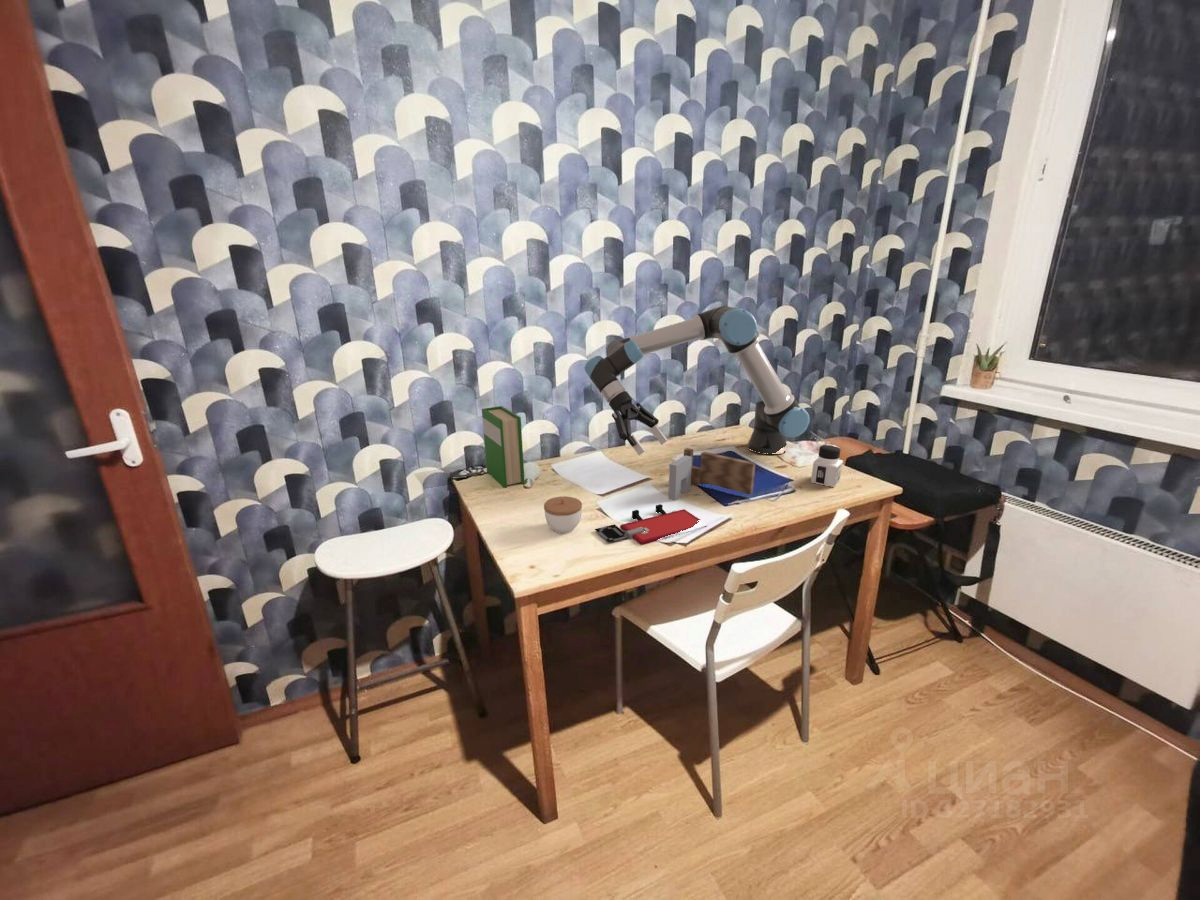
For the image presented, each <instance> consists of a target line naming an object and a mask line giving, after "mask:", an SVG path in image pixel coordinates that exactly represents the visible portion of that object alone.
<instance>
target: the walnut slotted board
mask: <svg viewBox="0 0 1200 900" xmlns="http://www.w3.org/2000/svg"><path fill="white" fill-rule="evenodd" d="M700 454H701V455H700V457H701V458H700V467H699V466H695V465H694V449H693V448H690V447H687V448H684V450H683V456H685V455H686V456H690V457H692V468H691V485H692V486H697V487H699V486H698V484H711V485H716V486H720V487H723V488H727V489H731V490H734V491H739V492H743V493H746V494H750V495H751V493H753V494H754V484H755V473H756V462H755V461H754V462H753V461H748V460H744V459H739V458H735V457H731V456H726V455H722V454H721V455H720V454H716V453H712V452H708V451H703V452H700Z"/></svg>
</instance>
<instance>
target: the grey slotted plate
mask: <svg viewBox="0 0 1200 900" xmlns="http://www.w3.org/2000/svg"><path fill="white" fill-rule="evenodd" d="M691 468H692V457H690V456H686V455H685V456H684V455H683V456H681V457H679V458H678V459H677V460H676V459H675V460H674V461H672V462H671V463H669V470H668V471H669V472H668V473H669V474H668V497H667V498H668V500H671V501H675V502H676V501H677V500H678V499H680V498H681V494H684V495H685V494H687V493H690V492H691V485H692V484H691Z"/></svg>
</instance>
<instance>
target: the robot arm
mask: <svg viewBox="0 0 1200 900" xmlns="http://www.w3.org/2000/svg"><path fill="white" fill-rule="evenodd" d="M757 324H758V323H757V321H756V318H755V316H754V315H753V314H752V313H751V312H749V311H748V310H747V309H744V308H741V307H731V306H726V305H724V306H723V305H722V306H718V307H714V308H711V309H709V310H706V311H703V312H700V313H697V314H695V315H694V316H693V317H692V318H690V319H686V320H683V321H679V322H676V323H672V324H670V325H666V326H662V327H660V328H657V329H653V330H649V331H645V332H642V333H640V334H636V335H632V336H629V337H626V338H622V339H612V340H610V341H609V342H608V343H607V344H606V347H605V354H606V357H602V356H601V355H595V356H594V357H591V358H590V359H589V360H588V361H587V362H586V363H585V365H584V371H585V373H586V375H587V376H588V378H589V379H590V380H591V382H592V384H593V385H594V386H595V387H596V388H597V390H598V391H599V393H600V394H601V395H602V397H603V398H604V400H605V401H606V402H607V403H608V405H609V406H610V408H611V409H612V411H613V413H612V414H611V417H612V418H613V420H614V423H615V426H616V430H617V433H618V437H619V439H620V440H623V441H627V442H628V443H629V445H630V446H631V447H632V448H633V449H634V452H636V454H637V455H638V456H641V455H642V454H643V453H645V452H646V449H645V448H644V447H643V445H642V444H641V442H640V441H639V439H638V438H637V437H636V436H635V434H632V425H631V421H633V420H635V421H638V422H639V423H642V424H643V425H644V426H645V425H646V426H647V427H649V428H650V429H649V430H650V432H652V434H653V435H654V437H655V438H656V440H657V441H658V442H659V444H660V445H663V444H664V443H666V442H667V441H668V438H667V437H666V436H665V434H664V433H663V431H662V429H660V427H659V425H658V424H659V421H660V420H659V419H658V418H656V417H655V416H654V415H653V414H652V413H650V411H648V410H647V409H646V408H644V406H642V405H641V403H640V402H637V403H636V404H635V405H634V404H633V403H632V401H633V398H632V396H631V395H630V394H629V392H628V391H626V388H625V387H624V385H623V383H621V381H620V380H619V378H618V376H620V375H621V374H623V373H624V372H625V371H627V370H628V369H630V368H631V367H632V366H634V365H636V364H637V363H638V362H639V361H640V360H642V358H644V355H647V354H651V353H655V352H658V351H660V350H664V349H668V348H671V347H675V346H679V345H682V344H685V343H688V342H691V341H692V342H693V341H694V340H700V341H704V340H709V339H718V340H721V342H722V343H723V345H724V347H725V348H726V350H727V352H728V353H729V354H731V355H735V356H736V358H737V359H738V362H739V363H740V365H741V366H742V368H743V369H744V372H745V373H746V375H747V377H748V379H749V380H750V382H751V384H752V385H753V386H754V388H755V390H756V392H757V396H756V400H755V409H754V410H755V411H754V422H753V423H754V424H753V425H754V426H753V431H752V433H751V436H750V438H749V440H748V442H747V449H748V448H749V449H751V450H753V451H756V452H760V453H766V454H767V453H768V454H772V453H776V452H777V451H779V450H780V449H781V448H783V447H785V446H786V445H787V446H788V444H787V439H786V438H790V439H791V438H792V439H793V438H796V437H797V438H798V437H799V436H801V435H802V434H803V433H805V431H806V430H807V428H808V427H809V424H810V415H809V412H808V411H807V410H806V409H804V408H803V407H801V406H800V405H799V403H798V401H797V400H796V398H795V396H794V394H792V393H789V392H787V391H786V389H785V387H784V385H783V384H782V382H781V380H780V378H779V377H778V375H777V373H776V371H775V369H774V367H773V366H772V365H771V362H770V361H769V359H768V357H767V355H766V354H765V352H764V350H763V348H762V346H761V345H760V343H759V342H758V341H759V339H760V334H759V332H758V331H757V329H758V325H757ZM749 449H748V450H749Z"/></svg>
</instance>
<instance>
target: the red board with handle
mask: <svg viewBox="0 0 1200 900" xmlns="http://www.w3.org/2000/svg"><path fill="white" fill-rule="evenodd" d="M656 512H657V513H658V514H660V515H655V516H650V517H647V518H646V517H645V518H642V517H641V515H640V510H638V509H634V510H632V512H631V519H632V518H633V519H635V521H631V522H627V523H622V524H620V527H619V526H617V525H616V524H614V523H613V524H610V525H606V526H603V527H597V528H594V530H595V531H596V532H597V533H598V534H599V535H600V536H601V537H602V538H603V539H604V540H605V541H606V542H608V543H613V542H615V541H620V540H624V539H627V538H628V539H629V540H630V539H633V540H634V541H636V542H637V544H639V545H640V546H644V545H648V544H651V543H654V542H657V540H658V539H660V538H662V537H665V536H668V535H671V534H675V533H676V532H677V533H678V532H680V531H681V530H682V531H683V530H686V529H688V528H691V527H693V526H694V525H695V524H697V523H698V522H699V521H698V520H701V519H700V518H698V517H697V516H695V515H694V514H693V513H691V512H689V511H688V510H686V509H685V508H684V509H678V510H675V511H672V512H671V511H670V512H668V513H667V512H666V511H665V510H664V509H663V504H661V503H660V504H656V505H655V513H656ZM659 512H660V513H659ZM657 513H656V514H657ZM633 519H632V520H633ZM697 521H698V522H697ZM644 531H645V532H644ZM658 541H659V540H658Z"/></svg>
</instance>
